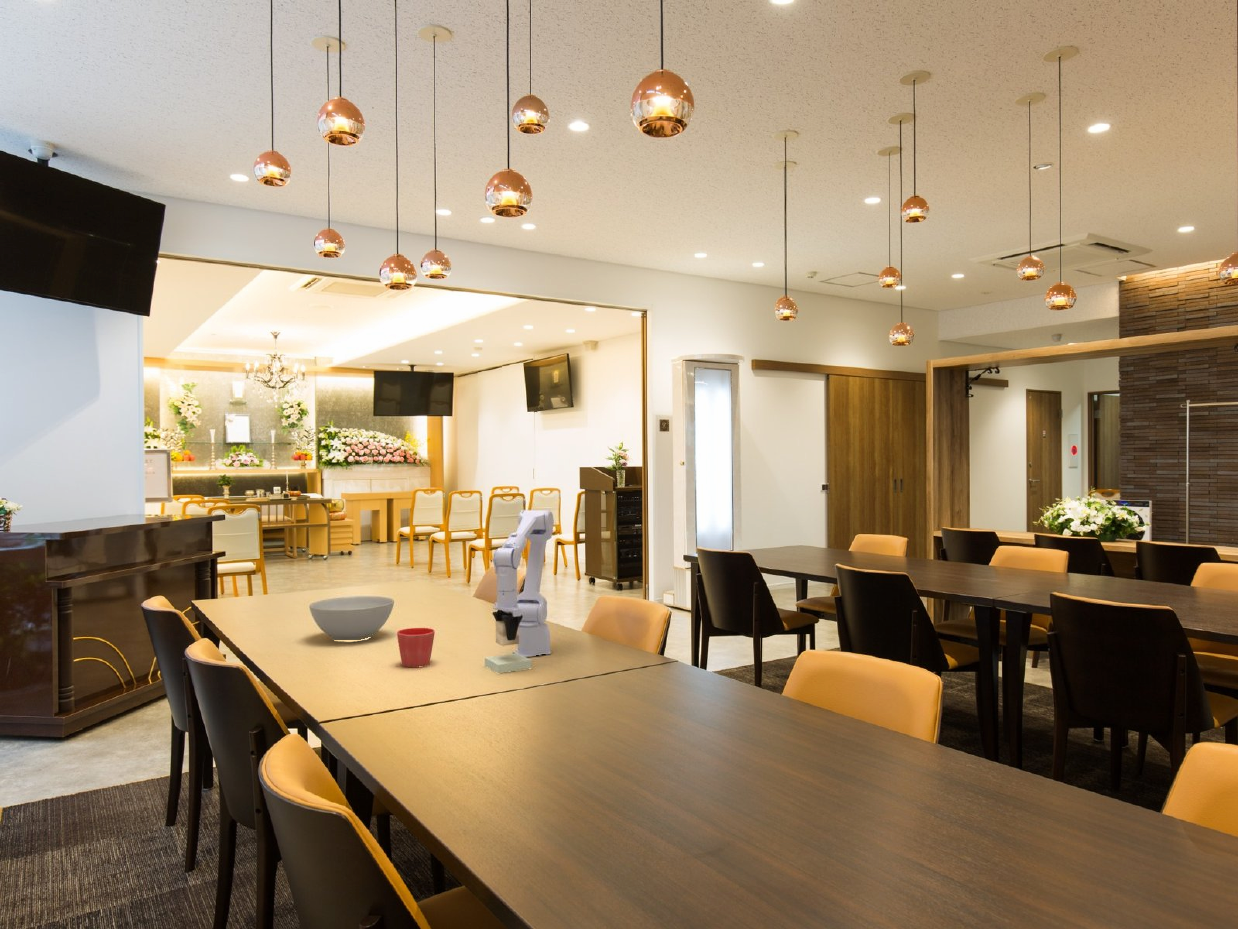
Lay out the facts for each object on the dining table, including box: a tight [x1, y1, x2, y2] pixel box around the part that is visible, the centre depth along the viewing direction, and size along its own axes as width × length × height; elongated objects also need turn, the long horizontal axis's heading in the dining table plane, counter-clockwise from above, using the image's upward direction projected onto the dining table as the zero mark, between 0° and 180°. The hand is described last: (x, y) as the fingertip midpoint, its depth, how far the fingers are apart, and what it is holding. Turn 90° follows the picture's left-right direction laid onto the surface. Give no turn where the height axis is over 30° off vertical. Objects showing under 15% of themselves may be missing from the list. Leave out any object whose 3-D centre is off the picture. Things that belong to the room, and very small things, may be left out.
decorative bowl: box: [309, 595, 395, 640], centre depth 271 cm, size 27×27×12 cm
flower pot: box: [396, 627, 435, 668], centre depth 235 cm, size 11×11×10 cm
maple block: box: [495, 620, 519, 647], centre depth 230 cm, size 5×5×6 cm
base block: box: [484, 653, 532, 674], centre depth 230 cm, size 10×10×3 cm
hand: (507, 638), depth 230 cm, fingers closed on maple block, 5 cm apart
